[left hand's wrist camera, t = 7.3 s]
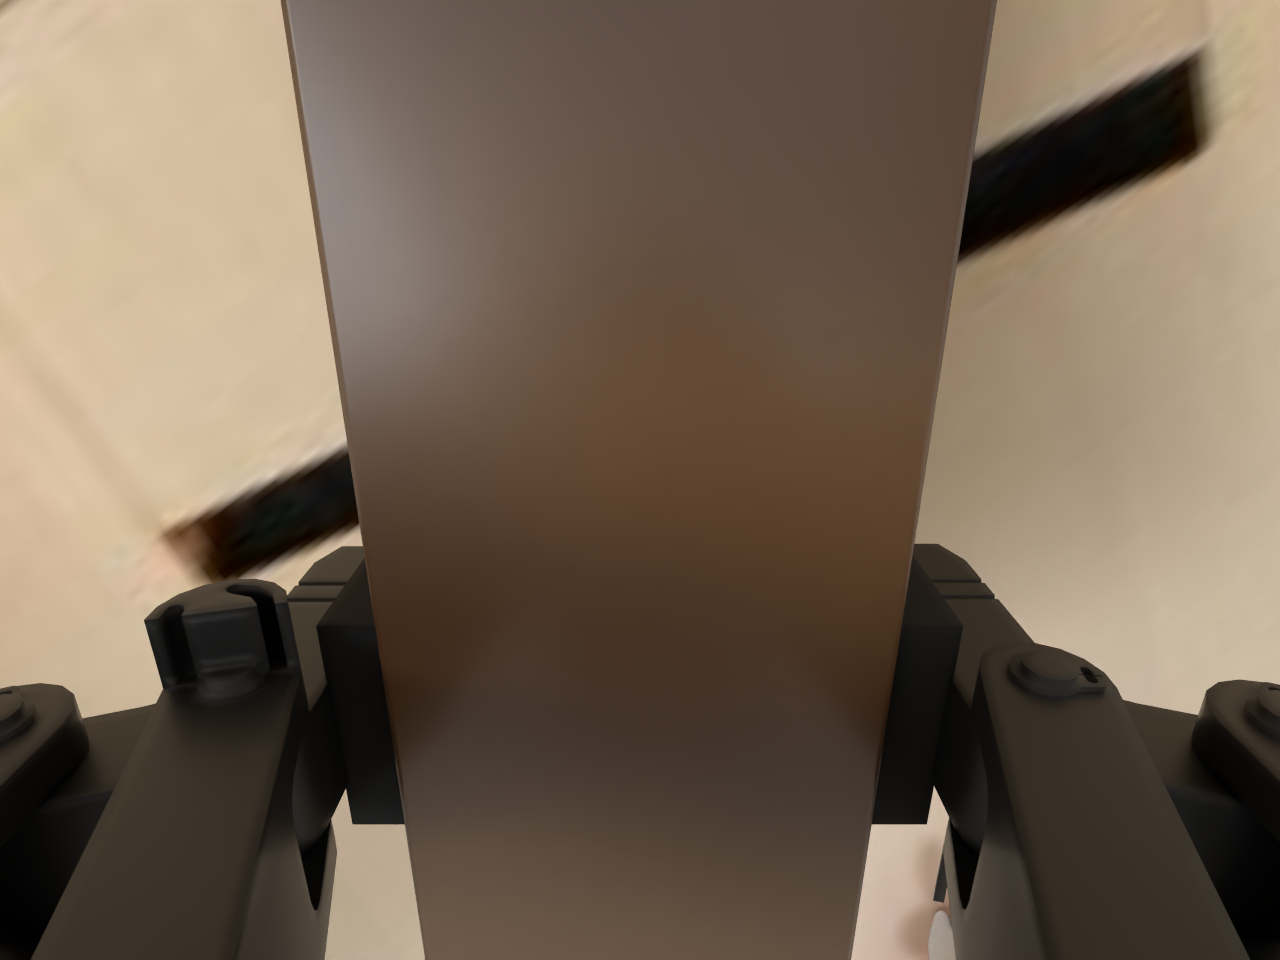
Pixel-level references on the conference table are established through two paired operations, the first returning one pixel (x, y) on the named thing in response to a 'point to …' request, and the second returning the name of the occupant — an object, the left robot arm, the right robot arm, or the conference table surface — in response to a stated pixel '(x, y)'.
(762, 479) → the plank
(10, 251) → the conference table surface
